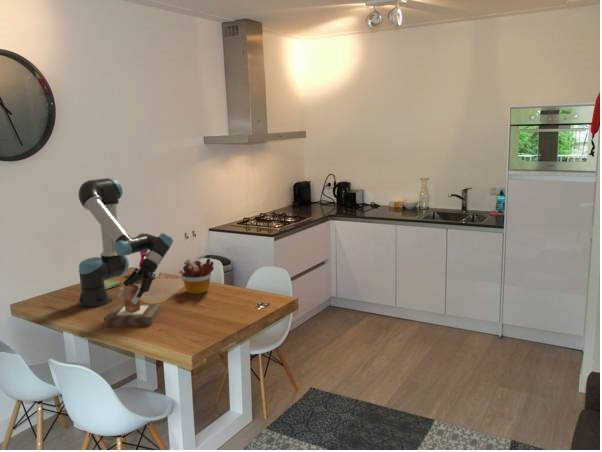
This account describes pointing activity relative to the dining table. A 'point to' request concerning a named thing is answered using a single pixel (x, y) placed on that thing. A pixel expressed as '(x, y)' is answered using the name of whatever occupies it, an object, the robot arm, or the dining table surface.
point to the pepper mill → (143, 254)
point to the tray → (132, 315)
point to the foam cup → (155, 270)
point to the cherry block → (128, 296)
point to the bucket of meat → (197, 276)
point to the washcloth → (111, 283)
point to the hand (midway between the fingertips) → (126, 300)
